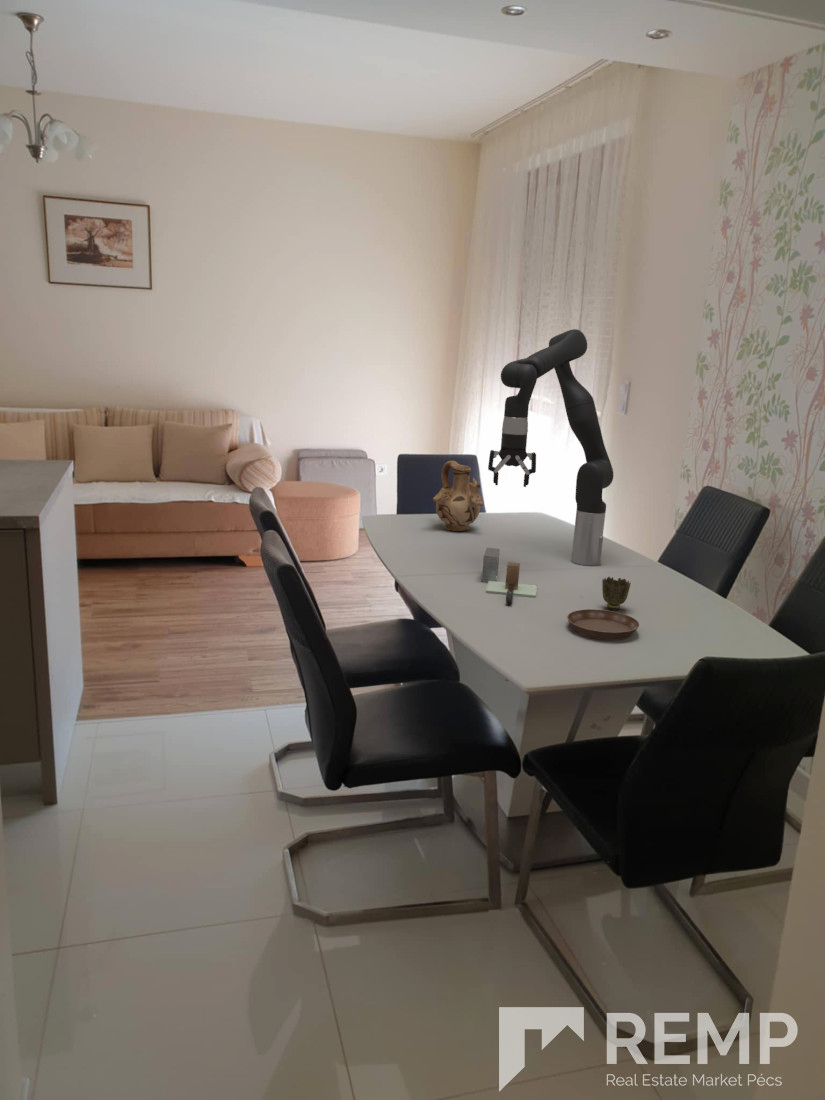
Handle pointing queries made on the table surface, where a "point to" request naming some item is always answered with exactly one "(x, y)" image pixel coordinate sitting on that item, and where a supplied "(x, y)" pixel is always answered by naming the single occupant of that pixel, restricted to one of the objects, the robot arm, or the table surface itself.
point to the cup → (615, 592)
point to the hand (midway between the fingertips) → (510, 485)
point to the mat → (522, 590)
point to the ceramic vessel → (458, 498)
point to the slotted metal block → (490, 564)
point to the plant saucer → (602, 624)
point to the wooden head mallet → (512, 580)
